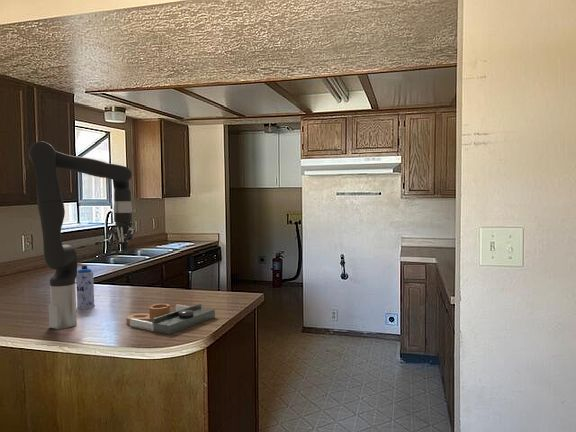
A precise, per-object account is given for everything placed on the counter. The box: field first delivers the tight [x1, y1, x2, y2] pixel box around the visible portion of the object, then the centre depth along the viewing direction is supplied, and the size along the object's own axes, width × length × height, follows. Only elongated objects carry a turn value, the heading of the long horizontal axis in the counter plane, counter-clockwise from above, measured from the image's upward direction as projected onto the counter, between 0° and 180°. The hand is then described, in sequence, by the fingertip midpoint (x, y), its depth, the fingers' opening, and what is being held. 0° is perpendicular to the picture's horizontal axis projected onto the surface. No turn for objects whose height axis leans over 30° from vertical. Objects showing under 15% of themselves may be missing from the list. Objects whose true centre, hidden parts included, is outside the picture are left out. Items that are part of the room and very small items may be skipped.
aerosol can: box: [75, 265, 96, 310], centre depth 208 cm, size 8×8×20 cm
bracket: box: [125, 303, 171, 326], centre depth 182 cm, size 18×8×7 cm, turn 89°
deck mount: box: [129, 303, 216, 336], centre depth 182 cm, size 26×22×5 cm
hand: (124, 250), depth 193 cm, fingers closed
